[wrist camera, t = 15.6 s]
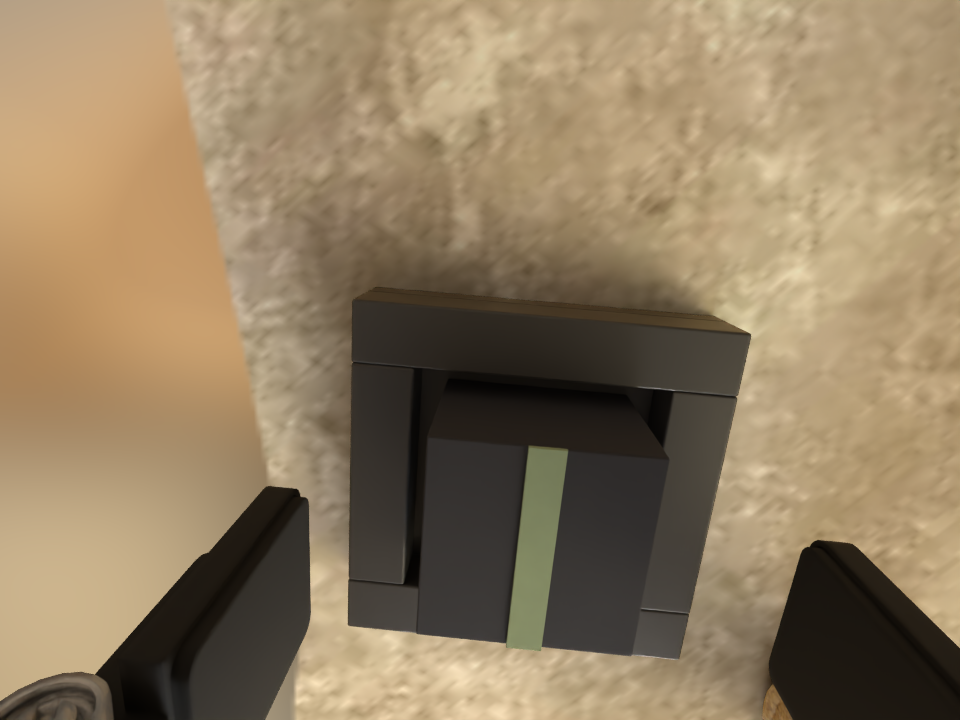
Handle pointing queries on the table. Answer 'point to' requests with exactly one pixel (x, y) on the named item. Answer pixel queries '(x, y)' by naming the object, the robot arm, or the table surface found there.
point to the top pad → (538, 517)
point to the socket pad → (541, 363)
